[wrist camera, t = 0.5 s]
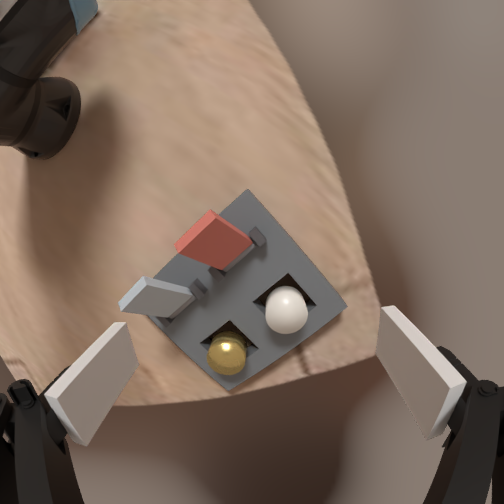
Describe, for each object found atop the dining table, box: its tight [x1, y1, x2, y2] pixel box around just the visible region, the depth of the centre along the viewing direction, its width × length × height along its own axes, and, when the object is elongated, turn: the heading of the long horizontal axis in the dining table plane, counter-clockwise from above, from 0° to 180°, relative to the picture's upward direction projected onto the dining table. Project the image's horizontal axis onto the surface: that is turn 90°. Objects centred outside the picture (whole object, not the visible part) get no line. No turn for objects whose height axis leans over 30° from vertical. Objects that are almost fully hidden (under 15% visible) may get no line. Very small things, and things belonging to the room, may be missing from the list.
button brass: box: [207, 331, 247, 375], centre depth 35 cm, size 5×5×4 cm
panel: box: [147, 189, 348, 391], centre depth 36 cm, size 20×22×5 cm
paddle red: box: [174, 210, 256, 272], centre depth 30 cm, size 2×5×9 cm
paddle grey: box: [118, 276, 197, 319], centre depth 32 cm, size 2×5×9 cm
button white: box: [266, 286, 308, 334], centre depth 33 cm, size 5×5×4 cm
